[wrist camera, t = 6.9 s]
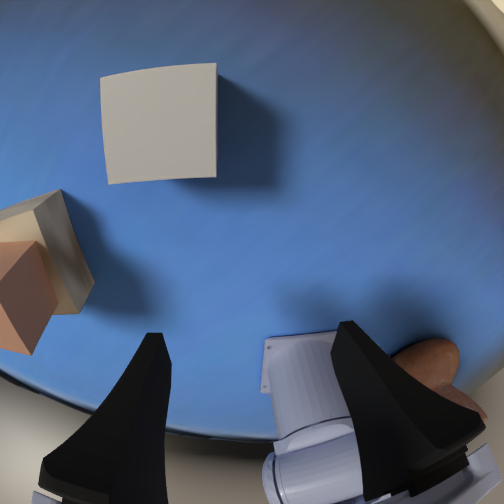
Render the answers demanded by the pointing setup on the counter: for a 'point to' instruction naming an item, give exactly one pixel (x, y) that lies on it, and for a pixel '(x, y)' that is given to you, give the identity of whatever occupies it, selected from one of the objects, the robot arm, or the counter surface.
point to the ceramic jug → (436, 369)
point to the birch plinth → (51, 246)
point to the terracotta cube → (23, 296)
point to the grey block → (160, 123)
